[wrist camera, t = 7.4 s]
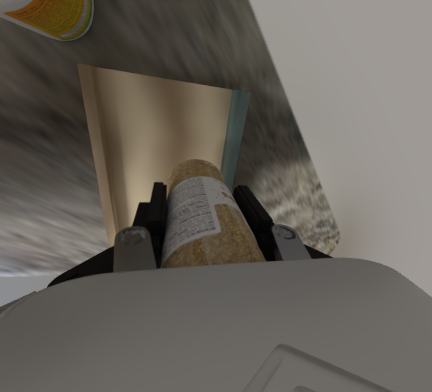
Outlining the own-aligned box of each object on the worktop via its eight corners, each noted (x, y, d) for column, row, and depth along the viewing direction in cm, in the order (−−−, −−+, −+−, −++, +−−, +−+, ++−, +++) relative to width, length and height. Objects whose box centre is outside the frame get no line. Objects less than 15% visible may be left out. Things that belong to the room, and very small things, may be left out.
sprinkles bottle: (230, 192, 16) (375, 454, 5) (183, 216, 16) (208, 521, 5) (207, 145, 14) (392, 447, 2) (153, 173, 14) (55, 583, 2)
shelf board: (118, 238, 23) (108, 266, 20) (94, 67, 15) (67, 60, 11) (211, 235, 26) (217, 260, 23) (234, 91, 18) (251, 91, 14)
